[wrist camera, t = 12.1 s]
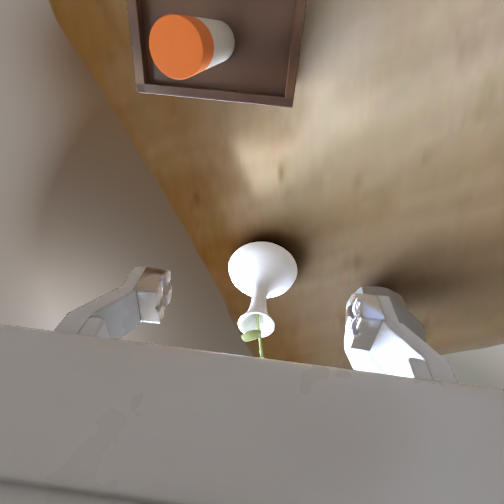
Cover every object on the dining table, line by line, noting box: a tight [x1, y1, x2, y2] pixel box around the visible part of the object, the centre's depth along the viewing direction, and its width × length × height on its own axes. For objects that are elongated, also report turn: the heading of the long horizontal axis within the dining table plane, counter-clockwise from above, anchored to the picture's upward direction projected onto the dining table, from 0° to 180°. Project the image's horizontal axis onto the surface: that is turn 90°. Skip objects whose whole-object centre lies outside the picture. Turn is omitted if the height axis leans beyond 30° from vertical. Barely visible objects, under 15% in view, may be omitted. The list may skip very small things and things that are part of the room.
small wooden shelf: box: [126, 0, 307, 108], centre depth 32 cm, size 9×14×13 cm, turn 86°
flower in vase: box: [229, 242, 297, 358], centre depth 45 cm, size 13×11×25 cm
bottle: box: [344, 286, 426, 374], centre depth 44 cm, size 11×11×30 cm
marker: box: [149, 14, 235, 79], centre depth 22 cm, size 3×3×12 cm
